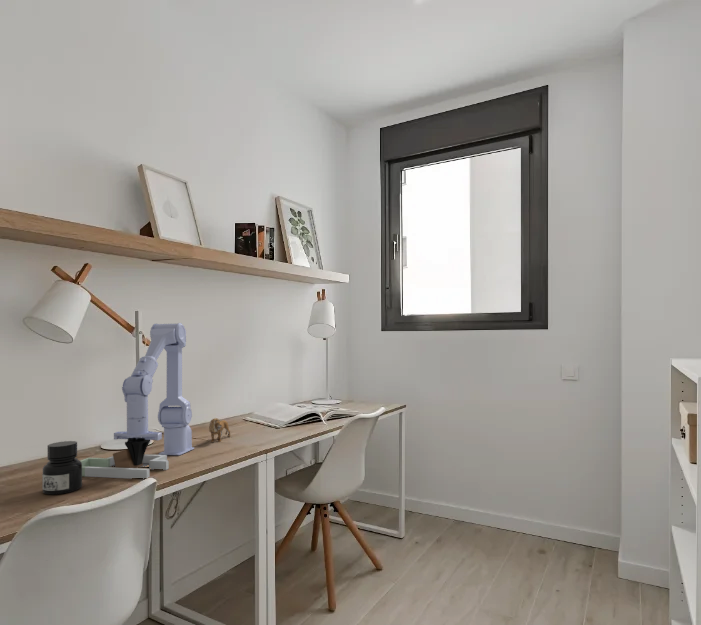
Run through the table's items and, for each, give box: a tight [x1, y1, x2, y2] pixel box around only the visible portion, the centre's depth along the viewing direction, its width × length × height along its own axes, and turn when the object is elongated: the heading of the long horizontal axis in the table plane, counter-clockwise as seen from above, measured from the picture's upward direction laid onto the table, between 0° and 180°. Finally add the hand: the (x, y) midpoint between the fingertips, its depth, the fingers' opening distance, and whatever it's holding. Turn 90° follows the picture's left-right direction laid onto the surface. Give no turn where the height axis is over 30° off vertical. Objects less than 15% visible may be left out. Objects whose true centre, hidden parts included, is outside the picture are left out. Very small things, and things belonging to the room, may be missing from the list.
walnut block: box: [112, 448, 143, 468], centre depth 145 cm, size 5×5×6 cm
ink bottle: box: [41, 440, 83, 495], centre depth 130 cm, size 10×9×12 cm
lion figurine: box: [208, 417, 231, 443], centre depth 187 cm, size 15×5×9 cm, turn 177°
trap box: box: [80, 453, 170, 480], centre depth 148 cm, size 16×28×2 cm, turn 77°
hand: (137, 464), depth 144 cm, fingers closed
